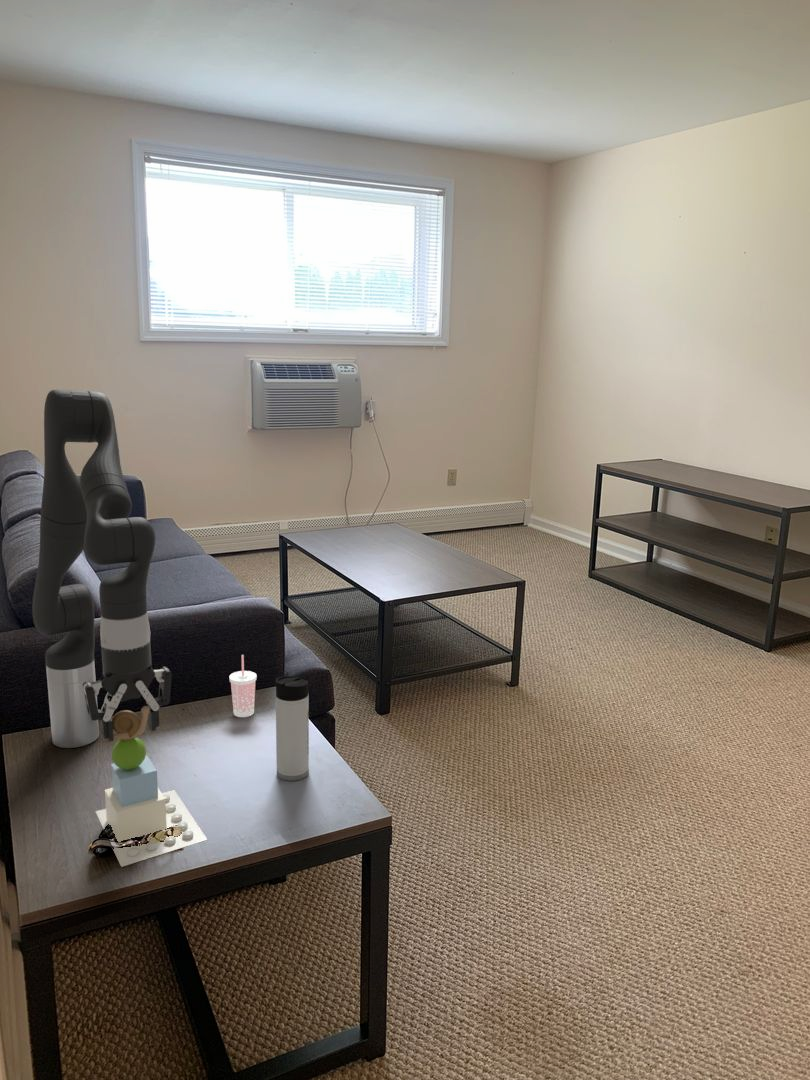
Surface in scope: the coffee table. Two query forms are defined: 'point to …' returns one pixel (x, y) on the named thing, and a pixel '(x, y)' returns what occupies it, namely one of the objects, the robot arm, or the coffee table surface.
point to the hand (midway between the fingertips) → (131, 734)
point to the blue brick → (135, 783)
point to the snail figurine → (129, 738)
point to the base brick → (135, 816)
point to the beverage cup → (243, 691)
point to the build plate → (174, 816)
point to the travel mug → (292, 728)
